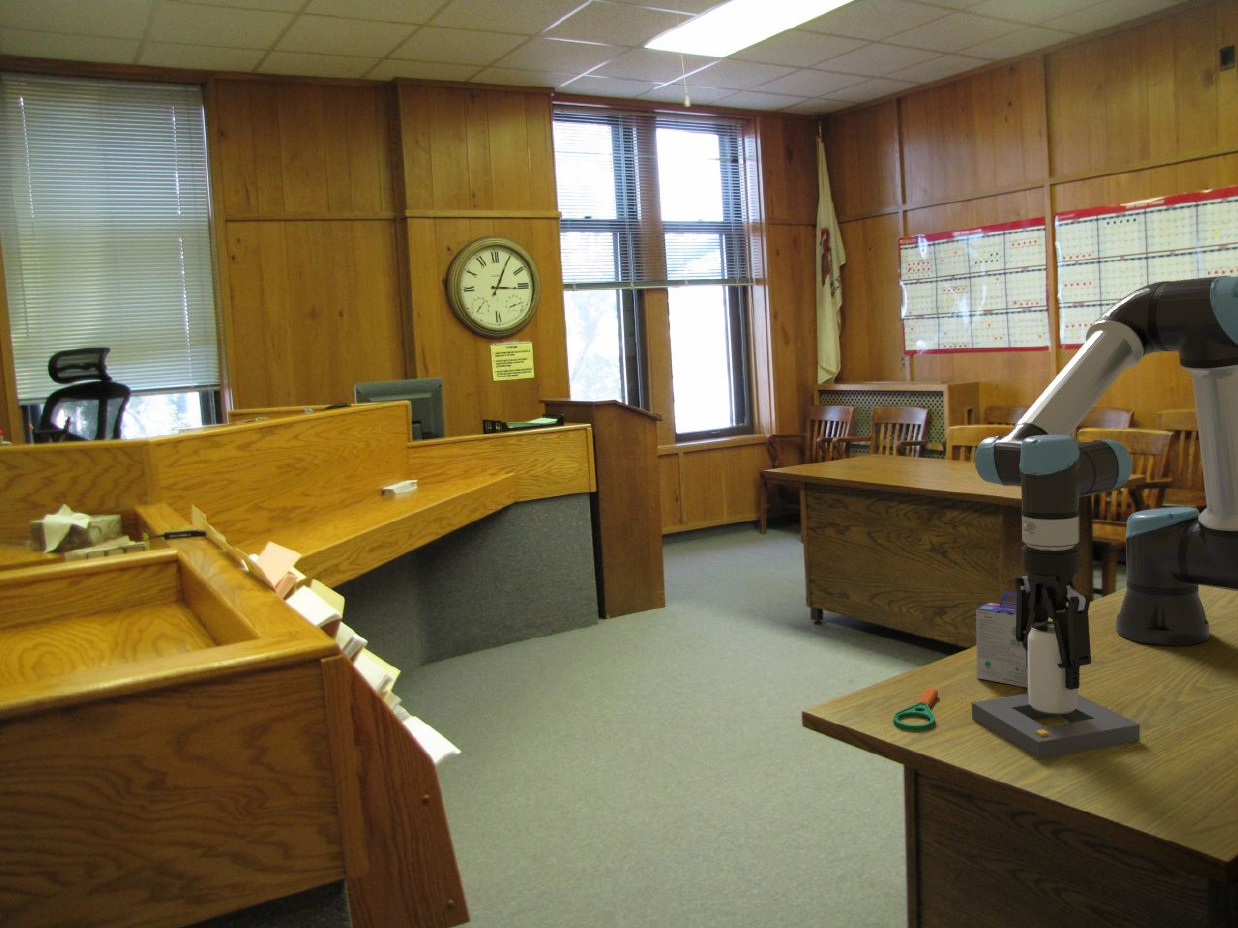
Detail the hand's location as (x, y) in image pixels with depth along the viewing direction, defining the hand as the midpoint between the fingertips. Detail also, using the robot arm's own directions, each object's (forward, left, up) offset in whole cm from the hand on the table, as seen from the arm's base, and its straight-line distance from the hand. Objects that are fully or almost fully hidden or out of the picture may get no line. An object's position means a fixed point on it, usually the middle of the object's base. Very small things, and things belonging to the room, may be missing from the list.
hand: (1052, 700), depth 147 cm
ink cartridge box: (-7, -20, -5) cm, 22 cm away
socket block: (0, 0, -4) cm, 4 cm away
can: (0, 0, -1) cm, 1 cm away
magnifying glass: (+14, -13, -5) cm, 20 cm away
